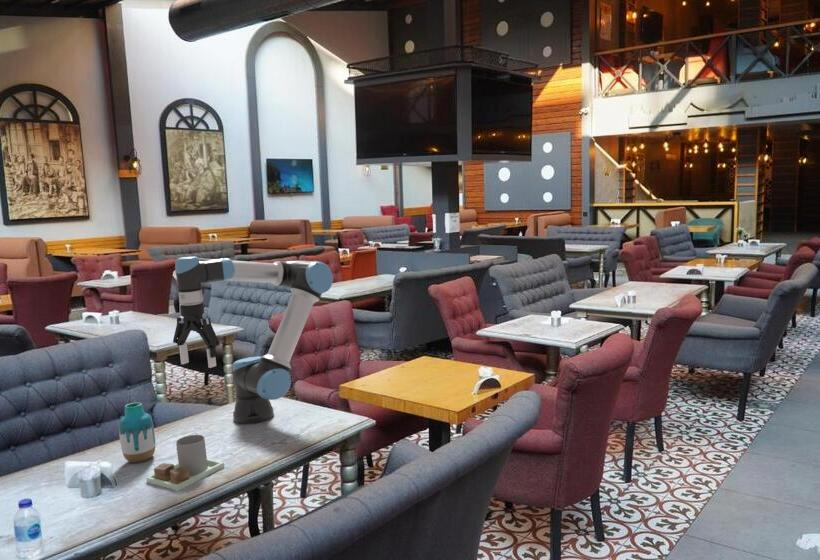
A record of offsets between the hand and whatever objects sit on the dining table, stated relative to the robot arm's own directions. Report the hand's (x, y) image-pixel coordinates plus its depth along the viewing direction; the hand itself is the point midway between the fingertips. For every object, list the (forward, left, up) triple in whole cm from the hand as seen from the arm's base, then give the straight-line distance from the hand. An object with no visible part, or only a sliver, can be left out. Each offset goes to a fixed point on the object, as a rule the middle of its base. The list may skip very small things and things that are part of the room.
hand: (198, 365), depth 226 cm
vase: (+18, -12, -29) cm, 36 cm away
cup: (+17, +13, -28) cm, 35 cm away
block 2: (+25, +17, -28) cm, 41 cm away
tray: (+20, +13, -29) cm, 37 cm away
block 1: (+25, +10, -28) cm, 39 cm away
